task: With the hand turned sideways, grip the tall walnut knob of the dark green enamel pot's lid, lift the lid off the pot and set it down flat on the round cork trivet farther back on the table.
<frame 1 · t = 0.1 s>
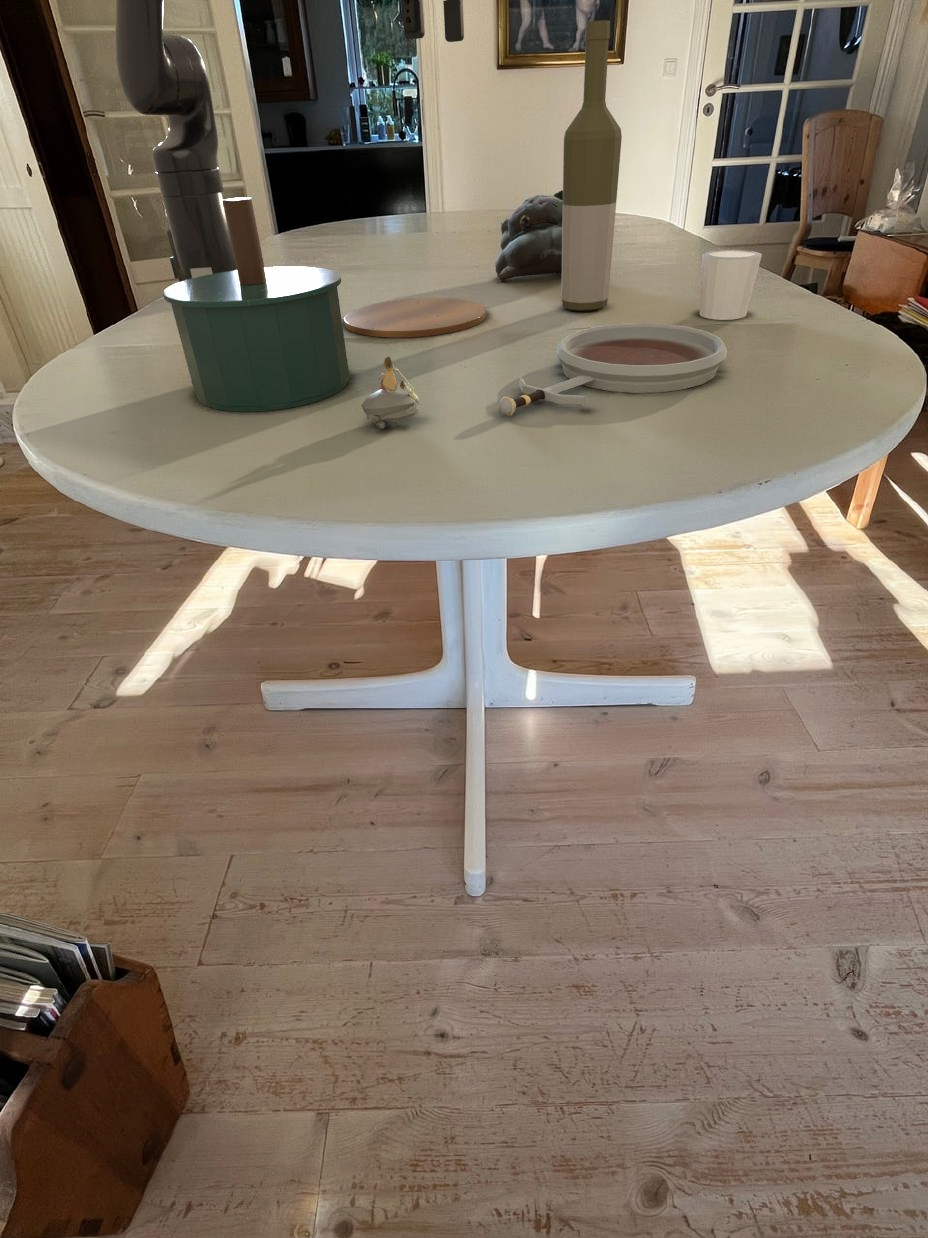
hand: (435, 39, 81), 29 cm above the table, tool pointing down, fingers open, 8 cm apart
bottle: (584, 309, 97), on the table
lid: (254, 288, 69), point 9 cm above the table, touching pot
grey lumpy animal shape: (534, 278, 116), on the table
trivet: (415, 319, 96), on the table
figurine: (393, 424, 64), on the table
white cup: (722, 316, 91), on the table
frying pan: (603, 383, 71), on the table
pot: (274, 386, 75), on the table
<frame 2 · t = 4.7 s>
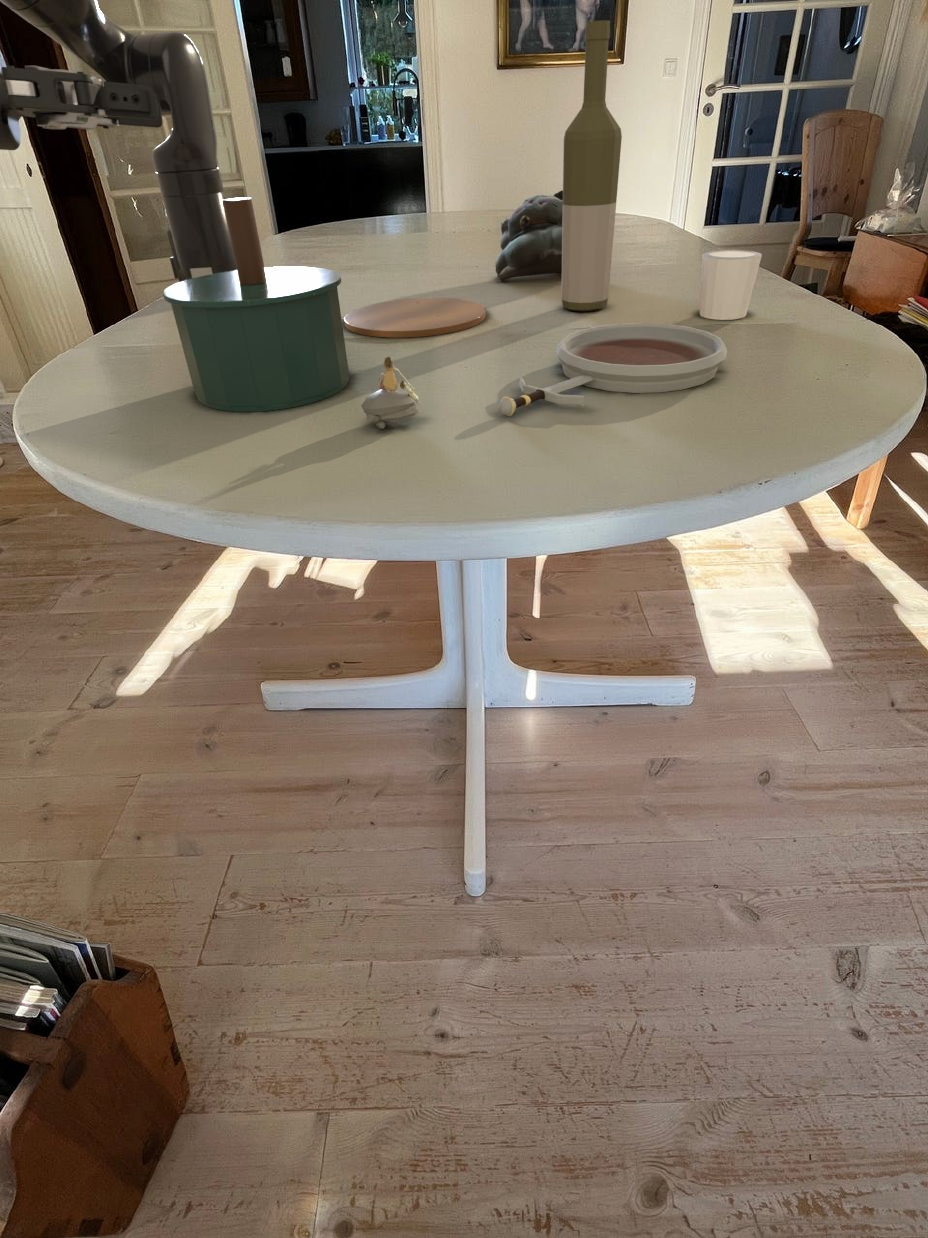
hand: (159, 108, 61), 24 cm above the table, tool horizontal, fingers open, 8 cm apart
nothing on the table moved.
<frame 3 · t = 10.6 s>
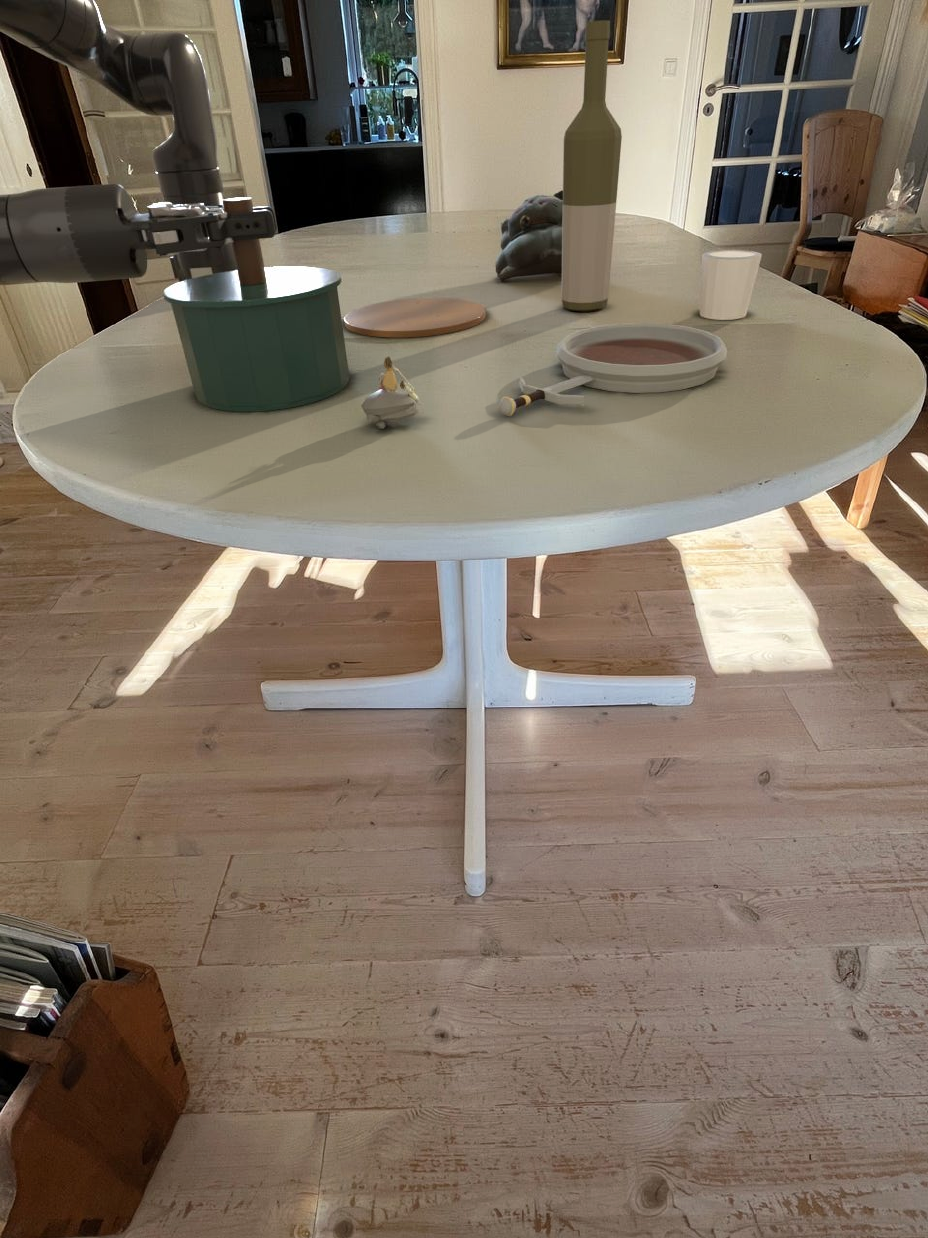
hand: (273, 221, 66), 15 cm above the table, tool horizontal, fingers closed on lid, 2 cm apart
lid: (254, 288, 69), point 9 cm above the table, touching gripper, pot
everything else where it was.
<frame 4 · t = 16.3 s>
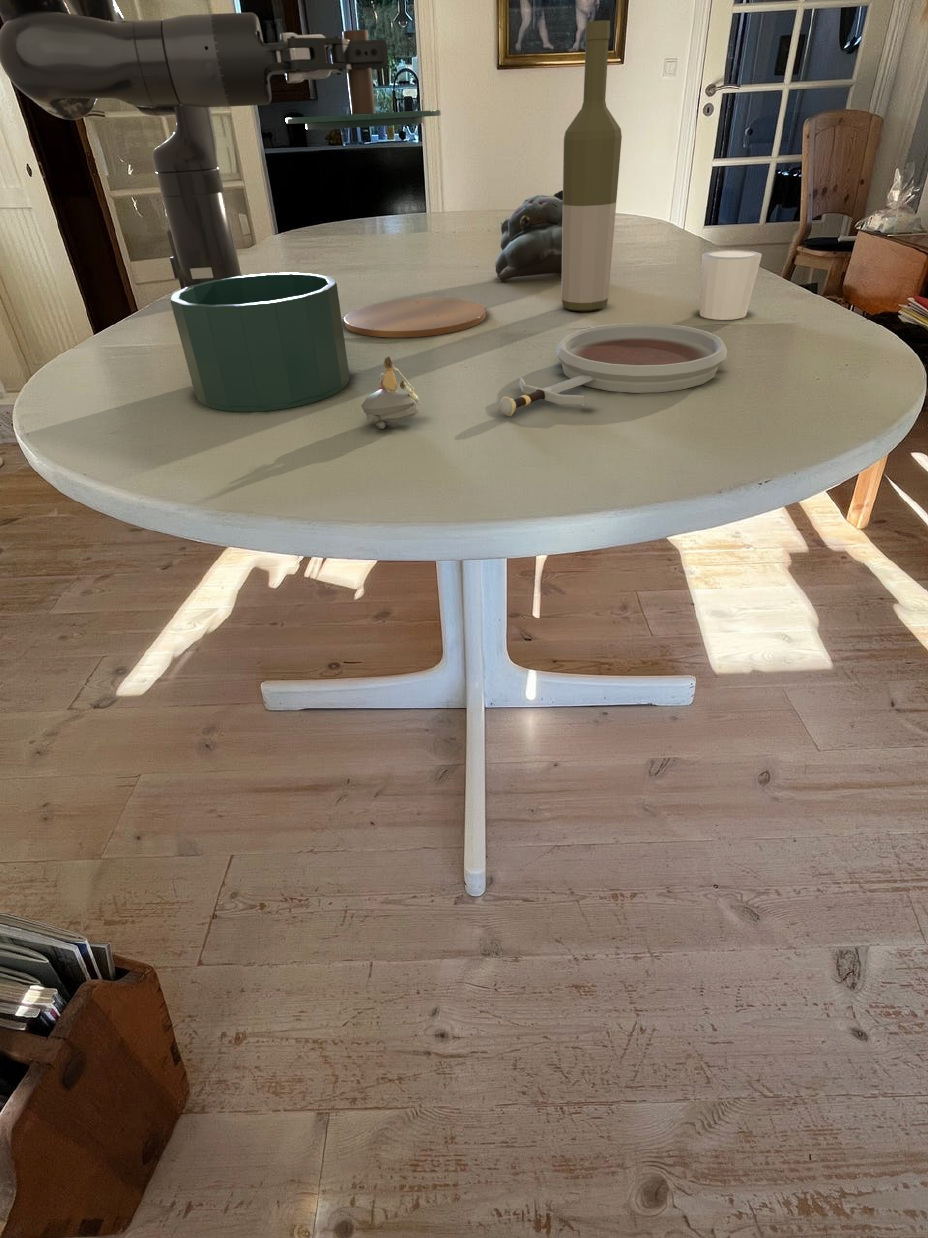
hand: (385, 54, 75), 28 cm above the table, tool horizontal, fingers closed on lid, 2 cm apart
lid: (364, 119, 78), point 22 cm above the table, touching gripper
everything else where it was.
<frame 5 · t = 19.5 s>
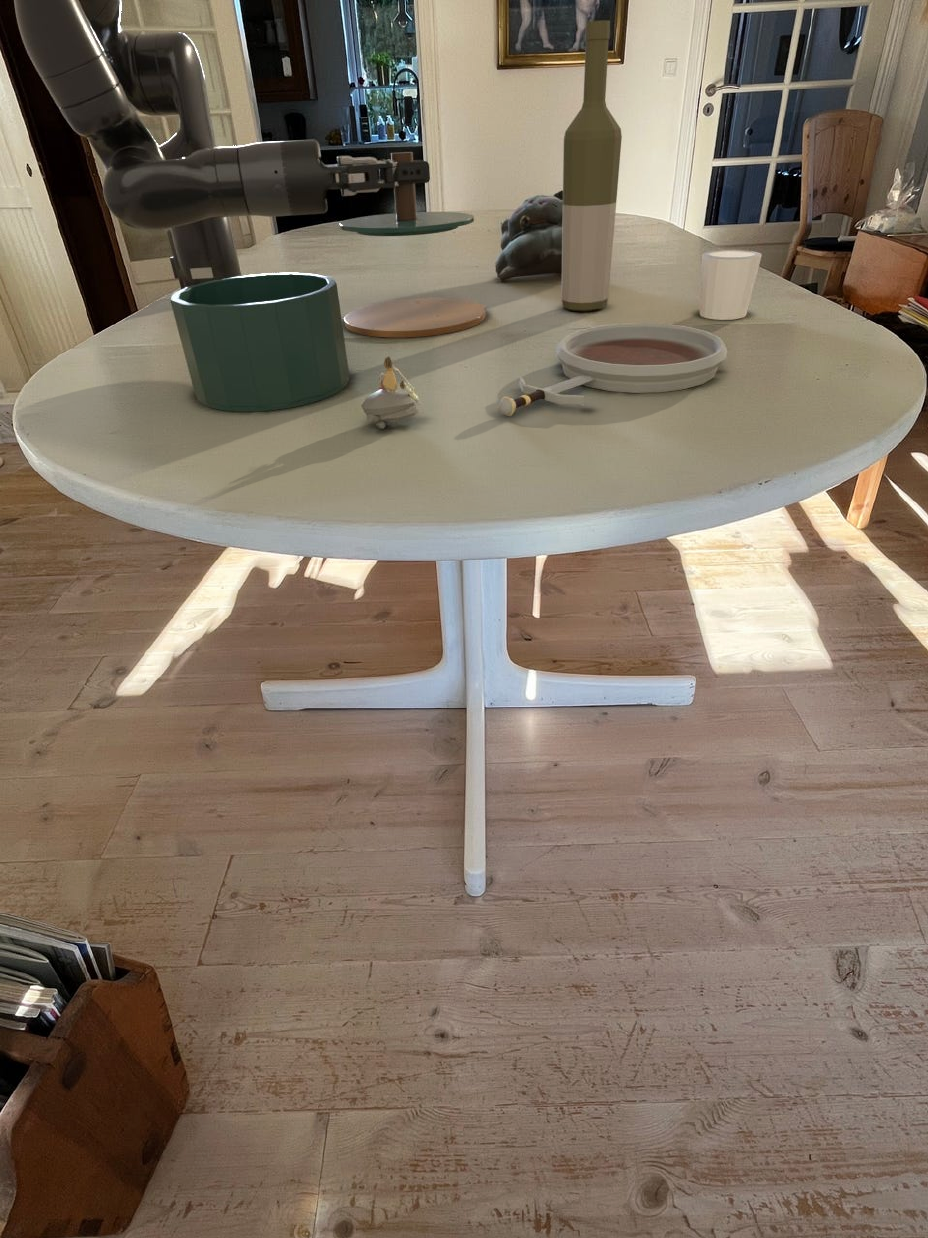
hand: (426, 170, 87), 17 cm above the table, tool horizontal, fingers closed on lid, 2 cm apart
lid: (407, 223, 89), point 11 cm above the table, touching gripper
everything else where it was.
when the fingers open (7 cm above the table, at t = 22.0 s): lid stays where it is, resting on trivet.
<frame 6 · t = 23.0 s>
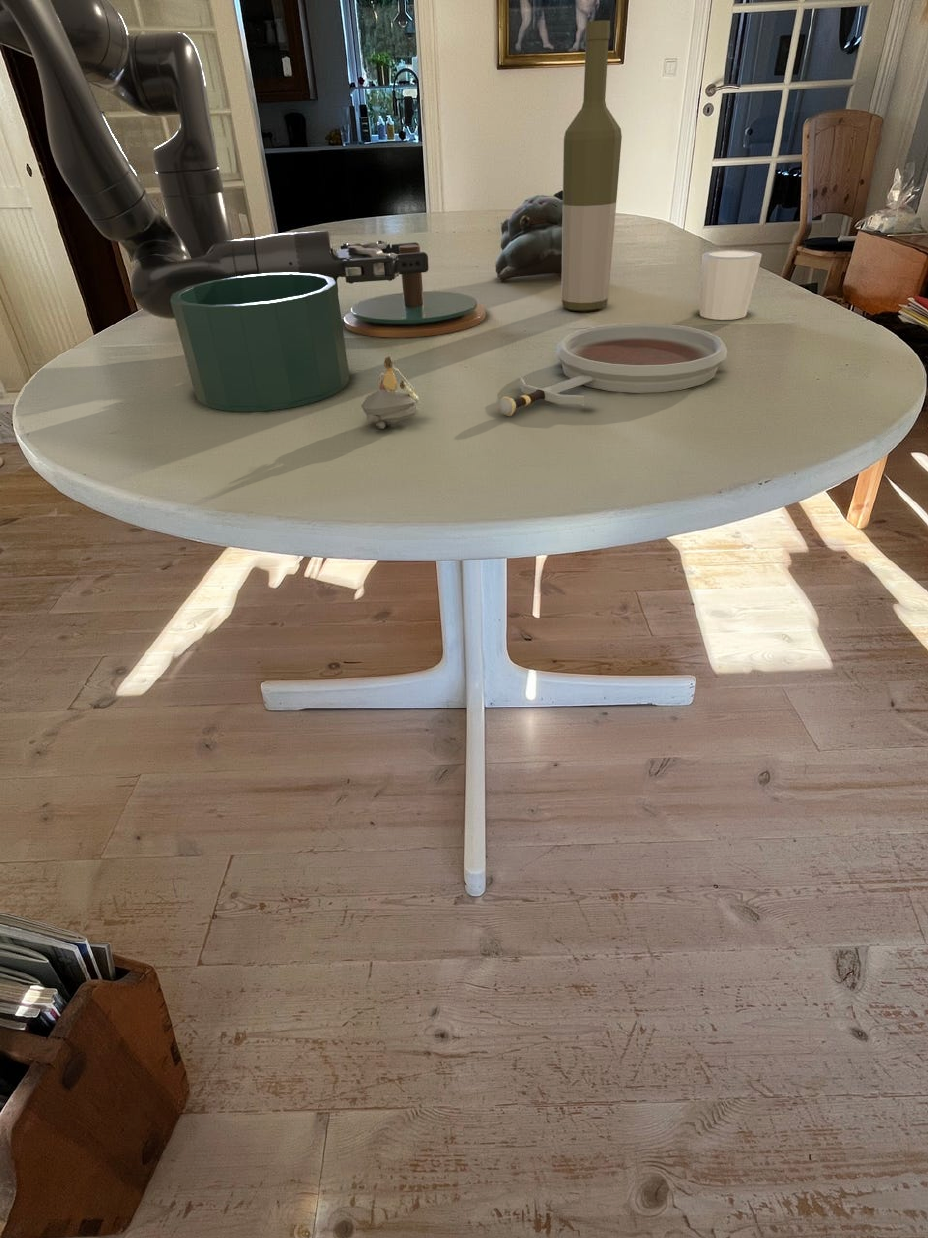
hand: (423, 256, 92), 8 cm above the table, tool horizontal, fingers open, 8 cm apart
lid: (414, 308, 95), point 1 cm above the table, touching trivet
everything else where it was.
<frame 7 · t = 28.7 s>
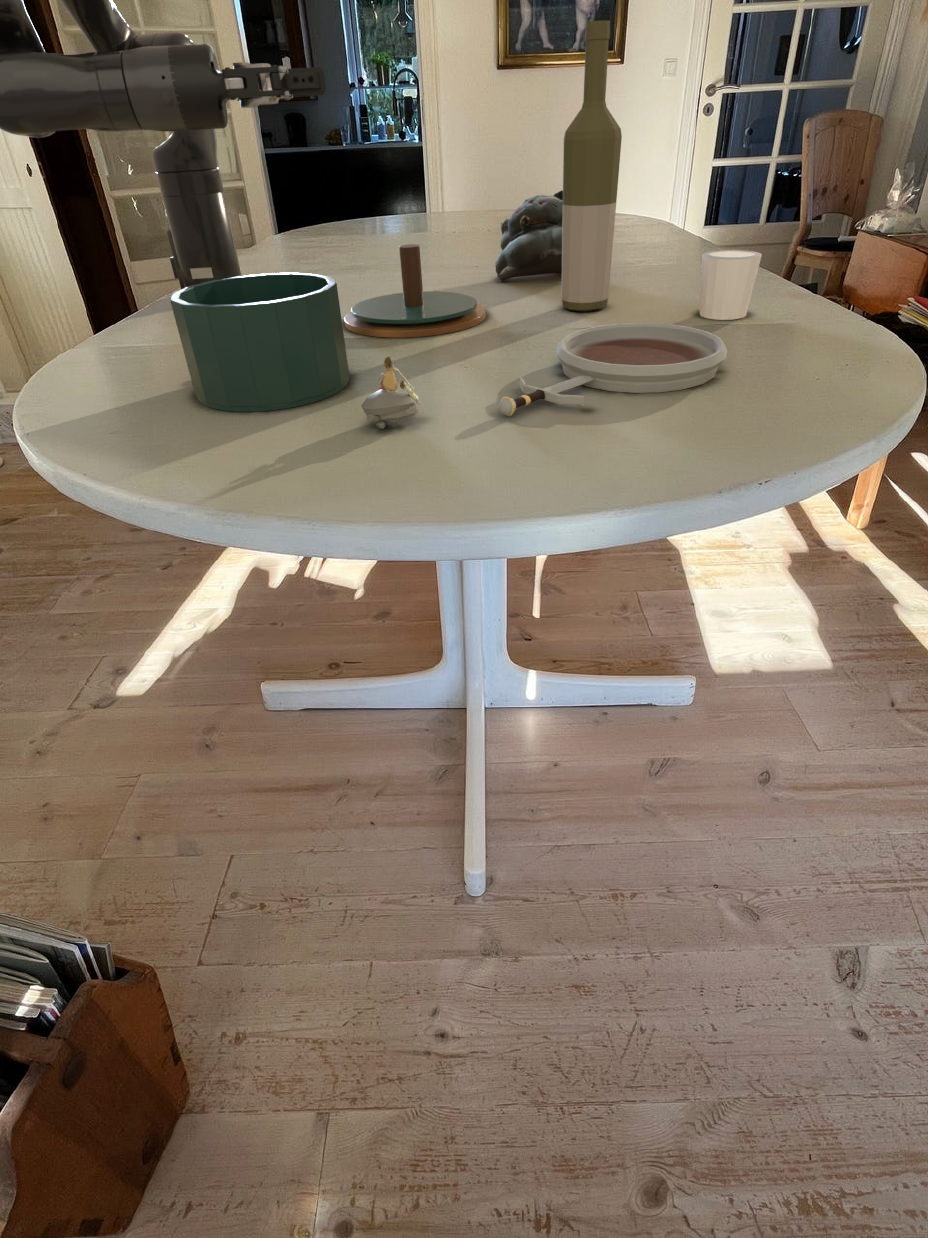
hand: (324, 81, 80), 26 cm above the table, tool horizontal, fingers open, 8 cm apart
nothing on the table moved.
at the end: lid 0.1 cm off-centre on the trivet, point 1.4 cm above the trivet's base; lid tilted 0°; the gripper is holding nothing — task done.
